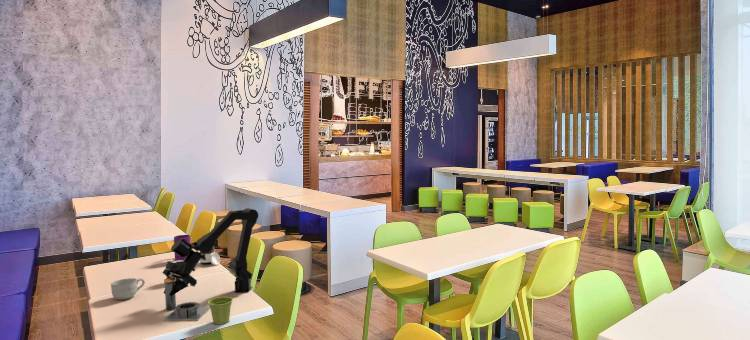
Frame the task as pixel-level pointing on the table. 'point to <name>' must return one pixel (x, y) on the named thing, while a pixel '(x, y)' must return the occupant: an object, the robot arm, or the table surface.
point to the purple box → (176, 238)
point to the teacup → (125, 288)
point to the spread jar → (210, 258)
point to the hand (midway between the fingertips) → (167, 294)
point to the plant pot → (220, 309)
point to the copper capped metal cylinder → (169, 299)
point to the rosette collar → (187, 312)
